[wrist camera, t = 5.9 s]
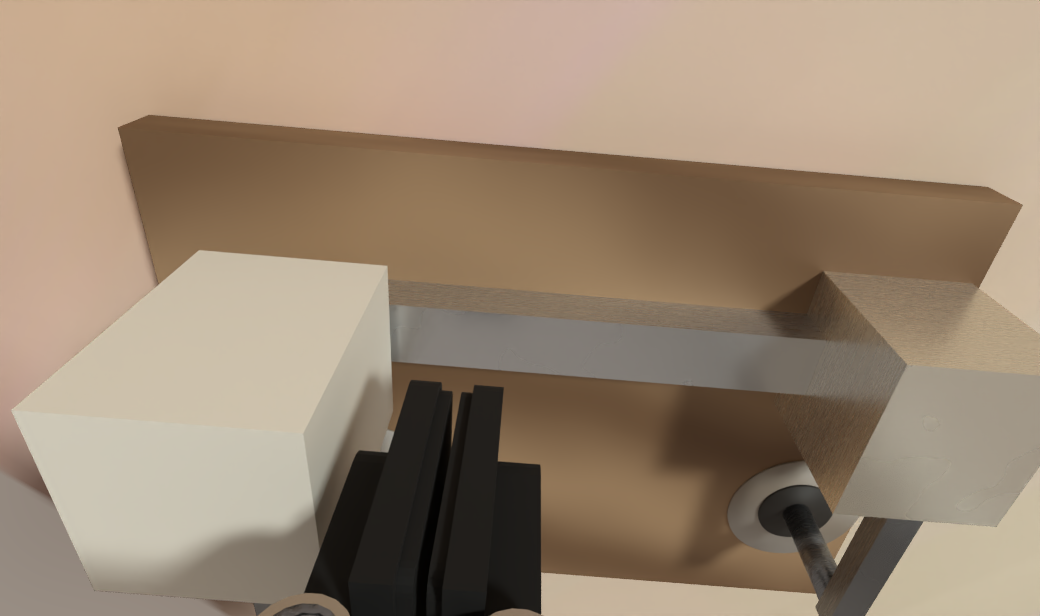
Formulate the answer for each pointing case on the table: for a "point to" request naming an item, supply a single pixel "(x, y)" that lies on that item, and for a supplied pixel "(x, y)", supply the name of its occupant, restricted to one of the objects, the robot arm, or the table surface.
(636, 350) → the beam
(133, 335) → the sliding leg
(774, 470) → the hole board
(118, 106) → the table surface
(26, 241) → the table surface
